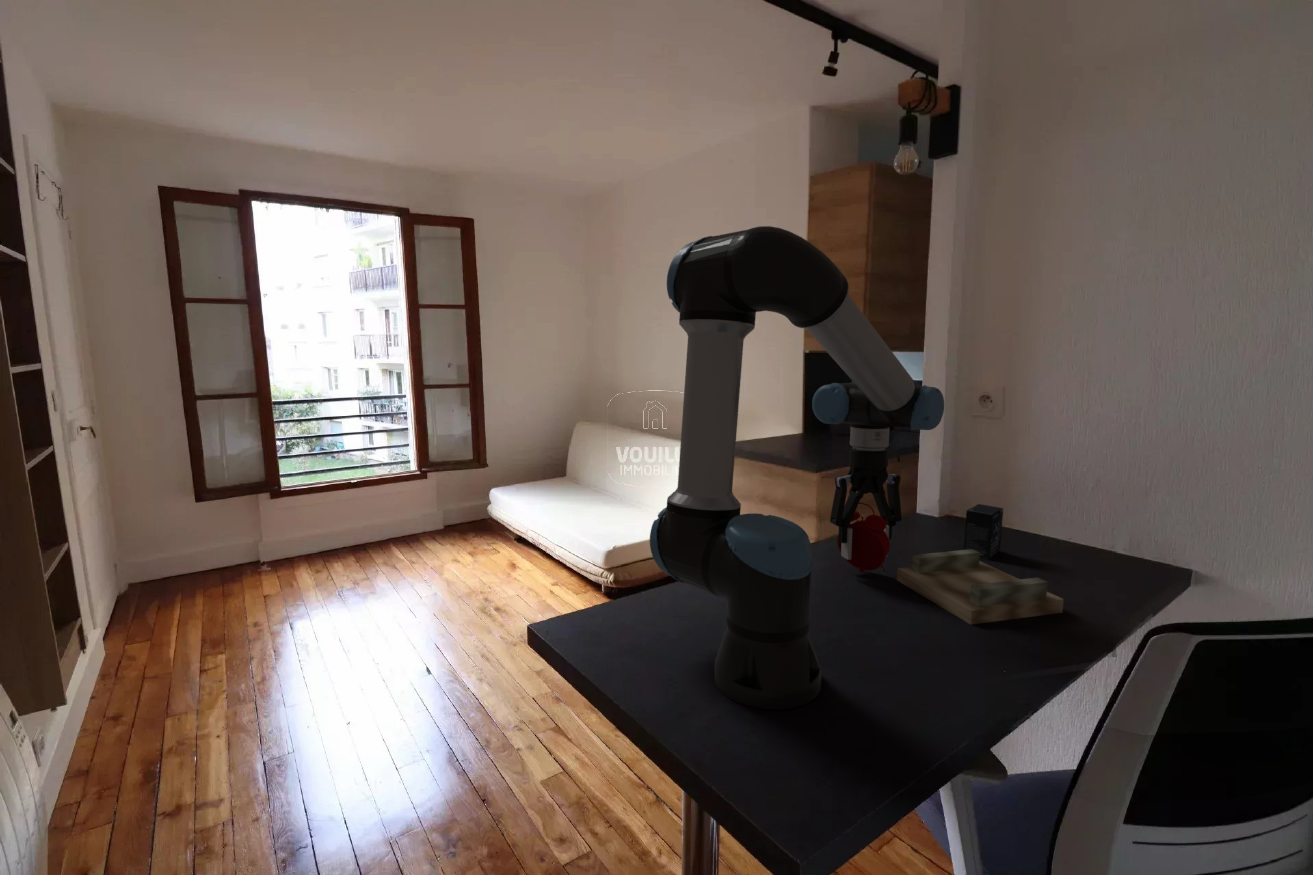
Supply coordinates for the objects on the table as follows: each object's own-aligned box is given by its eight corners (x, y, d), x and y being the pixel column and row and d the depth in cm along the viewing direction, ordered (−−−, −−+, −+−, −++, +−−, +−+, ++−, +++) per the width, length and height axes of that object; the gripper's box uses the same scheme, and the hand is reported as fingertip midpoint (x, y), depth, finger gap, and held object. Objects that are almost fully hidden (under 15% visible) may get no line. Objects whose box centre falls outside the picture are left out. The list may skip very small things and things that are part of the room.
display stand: (970, 624, 105) (972, 594, 104) (896, 580, 125) (897, 554, 124) (1062, 612, 109) (1065, 582, 108) (976, 571, 129) (978, 546, 128)
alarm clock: (893, 573, 126) (897, 502, 124) (880, 581, 122) (883, 508, 120) (847, 561, 134) (849, 494, 132) (832, 568, 129) (835, 499, 127)
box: (989, 560, 136) (992, 514, 134) (962, 554, 140) (965, 509, 138) (1001, 551, 141) (1004, 507, 139) (974, 546, 145) (977, 503, 144)
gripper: (832, 452, 118) (828, 566, 122) (925, 448, 123) (919, 558, 126) (813, 447, 126) (810, 554, 129) (902, 443, 130) (897, 546, 133)
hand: (864, 555), depth 127 cm, fingers closed on alarm clock, 8 cm apart
